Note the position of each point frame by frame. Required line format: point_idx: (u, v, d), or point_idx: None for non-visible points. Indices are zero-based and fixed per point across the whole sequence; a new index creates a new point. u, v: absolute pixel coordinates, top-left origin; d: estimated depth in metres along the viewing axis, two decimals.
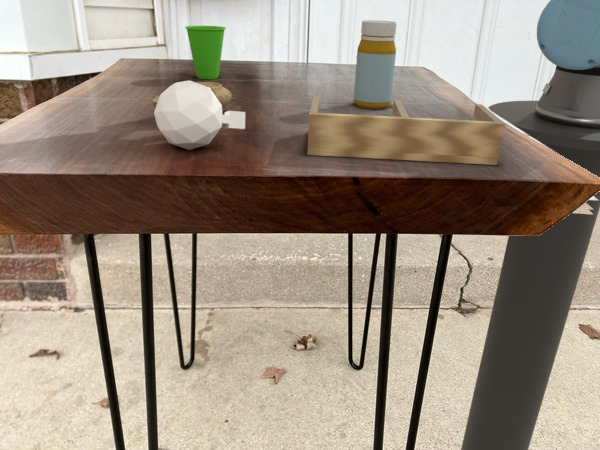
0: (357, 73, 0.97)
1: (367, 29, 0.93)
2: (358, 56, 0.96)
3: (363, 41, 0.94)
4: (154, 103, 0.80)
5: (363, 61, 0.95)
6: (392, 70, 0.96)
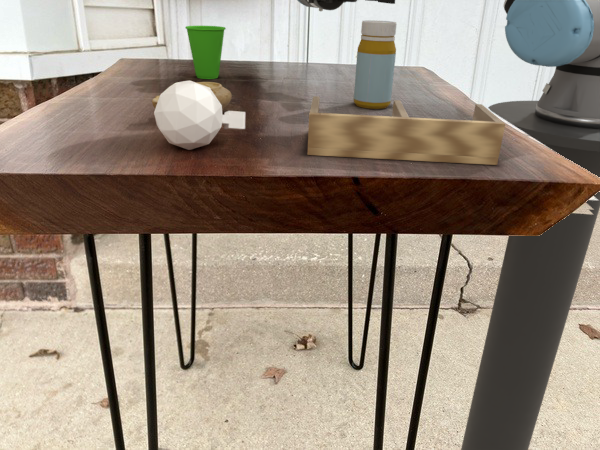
0: (357, 73, 0.97)
1: (367, 29, 0.93)
2: (358, 56, 0.96)
3: (363, 41, 0.94)
4: (154, 103, 0.80)
5: (363, 61, 0.95)
6: (392, 70, 0.96)
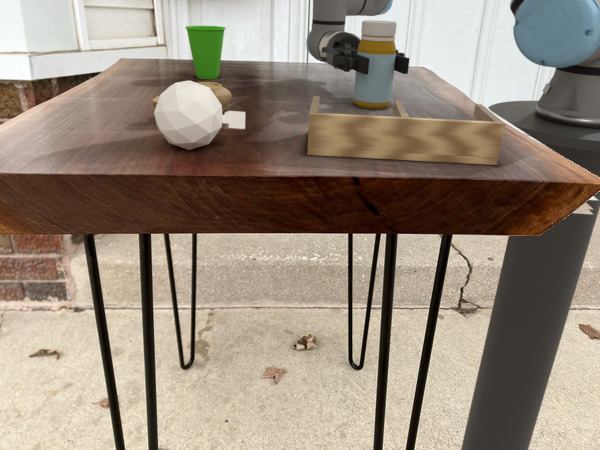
0: (357, 73, 0.97)
1: (367, 29, 0.93)
2: None
3: (364, 41, 0.94)
4: (154, 103, 0.80)
5: None
6: (392, 70, 0.96)
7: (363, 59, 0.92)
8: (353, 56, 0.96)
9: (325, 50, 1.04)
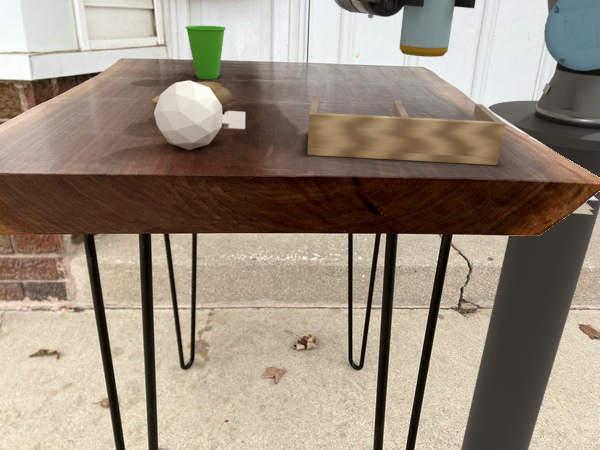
0: (406, 9, 0.74)
1: None
2: None
3: None
4: (154, 103, 0.80)
5: None
6: (453, 5, 0.73)
7: None
8: None
9: None
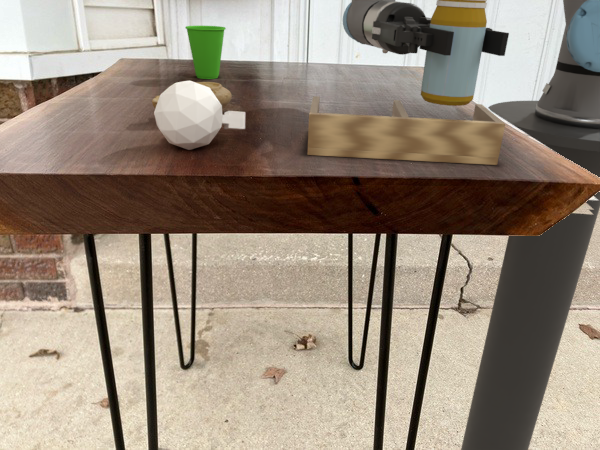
0: (430, 55, 0.69)
1: None
2: None
3: (442, 8, 0.66)
4: (154, 103, 0.80)
5: None
6: (480, 51, 0.68)
7: (444, 33, 0.64)
8: (425, 30, 0.68)
9: (379, 24, 0.75)
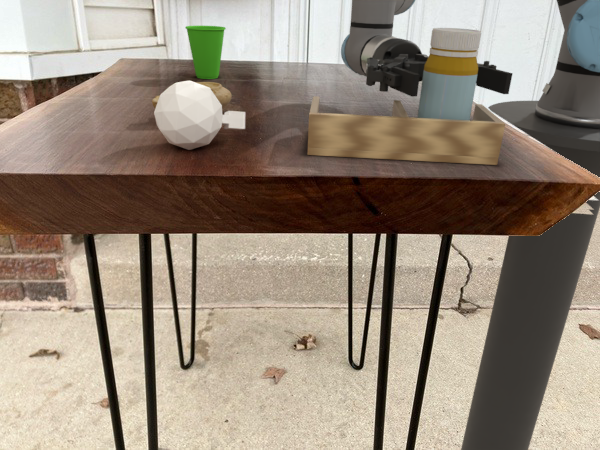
0: (423, 100, 0.71)
1: (441, 40, 0.67)
2: (426, 77, 0.70)
3: (435, 57, 0.68)
4: (154, 103, 0.80)
5: (434, 85, 0.69)
6: (472, 96, 0.70)
7: (411, 76, 0.66)
8: (394, 71, 0.71)
9: (369, 62, 0.79)
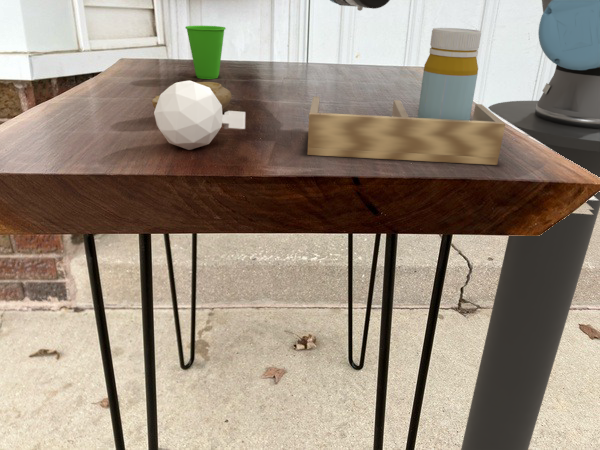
0: (423, 100, 0.71)
1: (441, 40, 0.67)
2: (426, 77, 0.70)
3: (435, 57, 0.68)
4: (154, 103, 0.80)
5: (434, 85, 0.69)
6: (472, 96, 0.70)
7: None
8: None
9: None
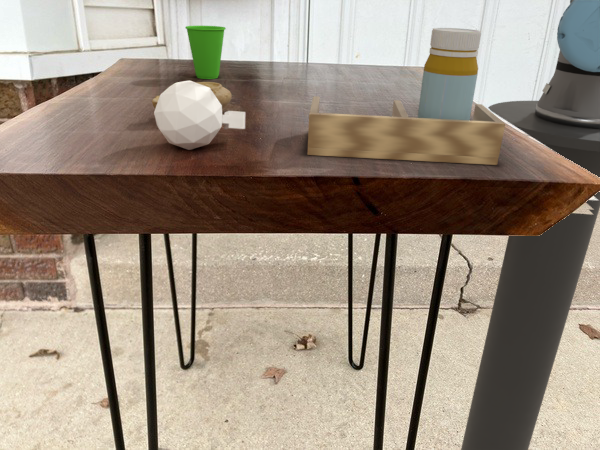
0: (423, 100, 0.71)
1: (441, 40, 0.67)
2: (426, 77, 0.70)
3: (435, 57, 0.68)
4: (154, 103, 0.80)
5: (434, 85, 0.69)
6: (472, 96, 0.70)
7: None
8: None
9: None
